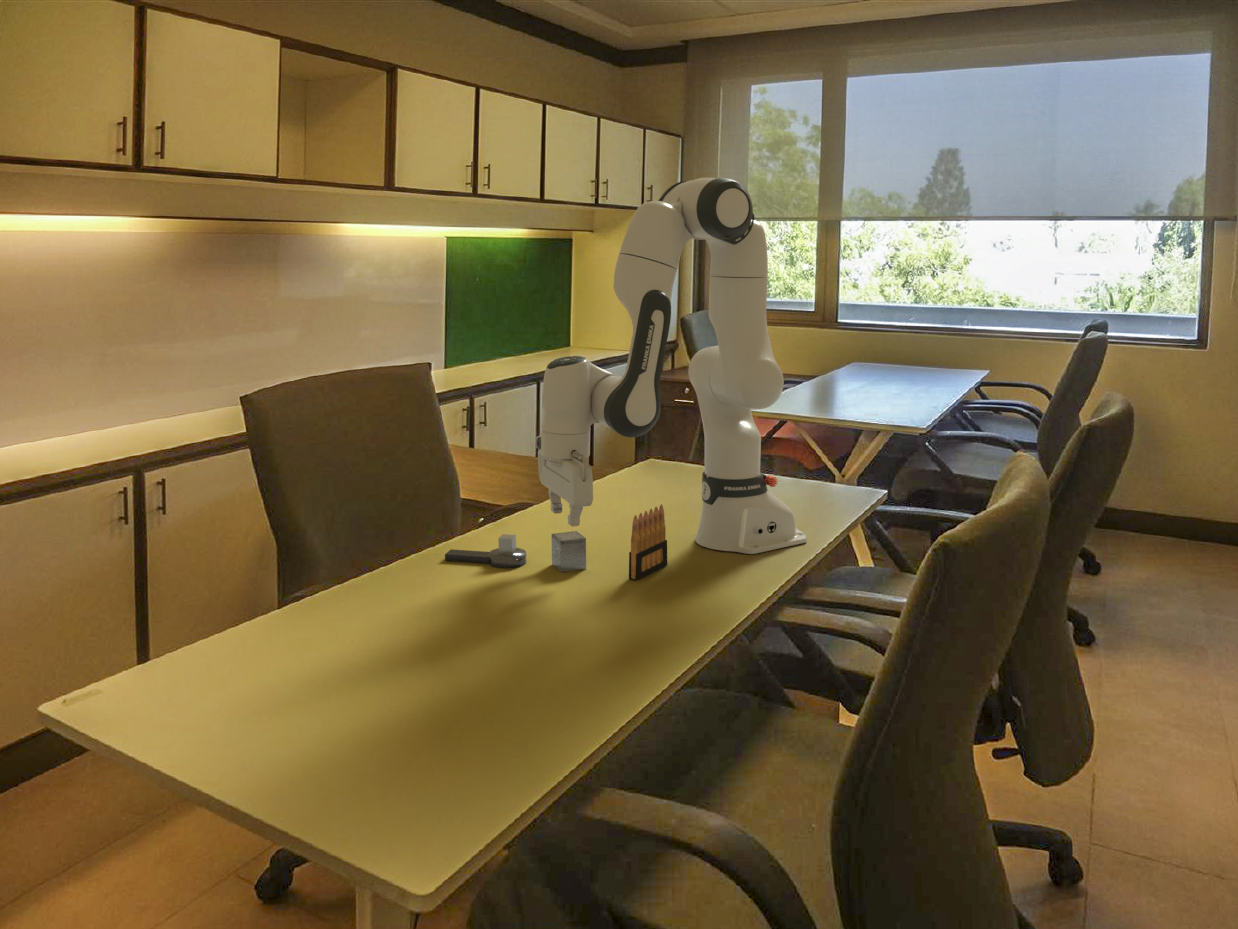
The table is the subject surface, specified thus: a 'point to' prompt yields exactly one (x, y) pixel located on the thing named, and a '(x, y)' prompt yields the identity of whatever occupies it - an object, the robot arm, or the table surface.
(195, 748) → the table surface
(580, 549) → the socket
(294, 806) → the table surface
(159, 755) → the table surface
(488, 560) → the ratchet
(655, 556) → the ammunition clip
